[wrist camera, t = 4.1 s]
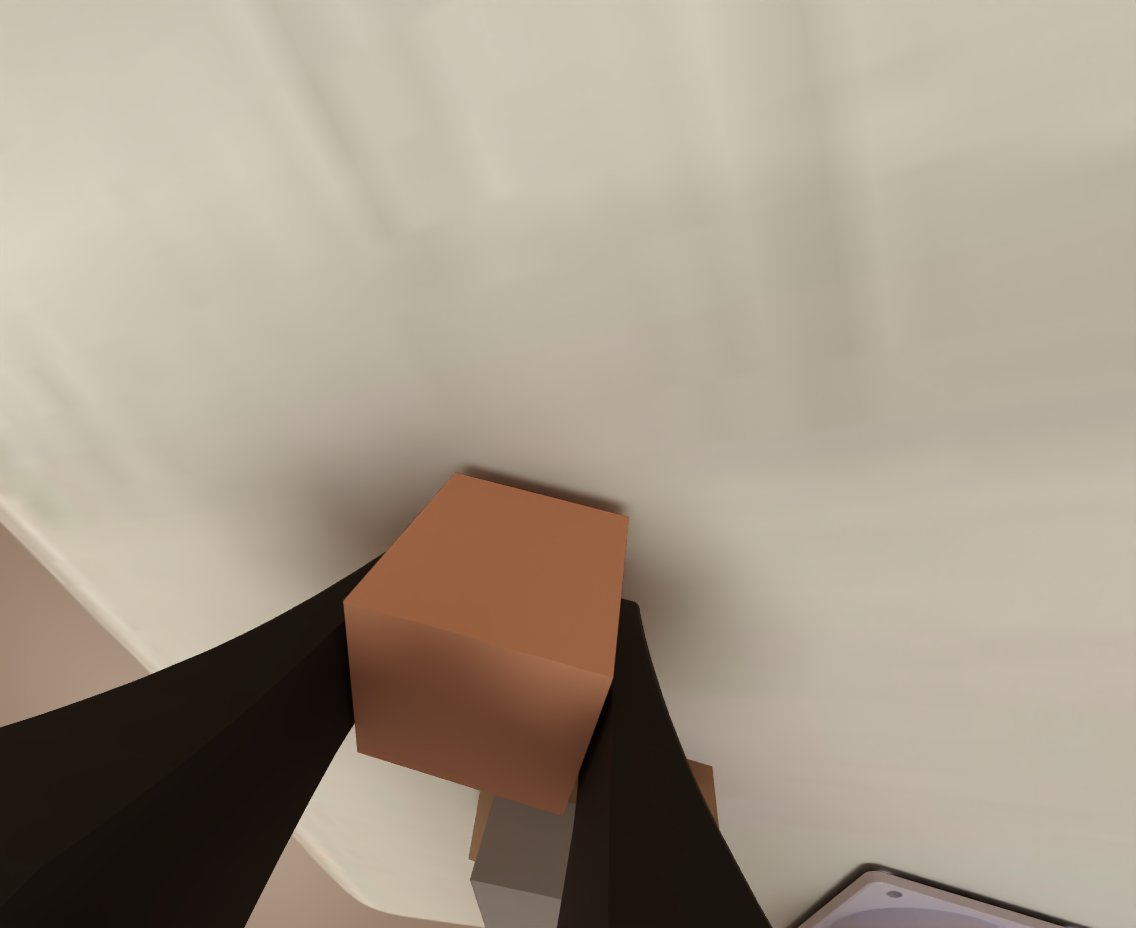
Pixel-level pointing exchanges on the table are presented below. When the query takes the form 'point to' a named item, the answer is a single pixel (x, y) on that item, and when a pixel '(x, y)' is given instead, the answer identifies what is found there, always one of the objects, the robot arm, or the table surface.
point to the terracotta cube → (489, 640)
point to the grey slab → (522, 865)
